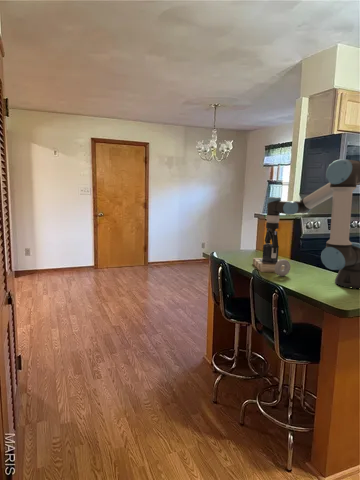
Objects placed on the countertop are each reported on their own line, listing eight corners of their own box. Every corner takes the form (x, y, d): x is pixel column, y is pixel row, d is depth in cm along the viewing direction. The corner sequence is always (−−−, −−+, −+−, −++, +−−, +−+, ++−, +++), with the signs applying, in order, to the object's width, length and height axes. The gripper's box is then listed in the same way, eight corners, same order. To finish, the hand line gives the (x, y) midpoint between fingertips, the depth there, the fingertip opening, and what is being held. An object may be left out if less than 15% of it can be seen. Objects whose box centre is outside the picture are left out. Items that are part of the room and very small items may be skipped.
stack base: (287, 272, 196) (287, 265, 195) (261, 272, 195) (261, 265, 195) (276, 264, 216) (277, 257, 215) (252, 263, 215) (253, 257, 214)
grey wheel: (287, 274, 191) (288, 258, 189) (291, 276, 188) (292, 259, 186) (272, 275, 188) (274, 259, 186) (276, 277, 185) (277, 260, 183)
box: (277, 262, 203) (279, 245, 202) (272, 263, 200) (273, 246, 198) (267, 259, 209) (268, 243, 208) (261, 260, 206) (263, 244, 204)
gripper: (261, 219, 213) (259, 251, 216) (272, 224, 188) (270, 260, 192) (272, 219, 213) (270, 251, 216) (285, 224, 188) (282, 260, 192)
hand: (270, 255), depth 204 cm, fingers open, 13 cm apart
